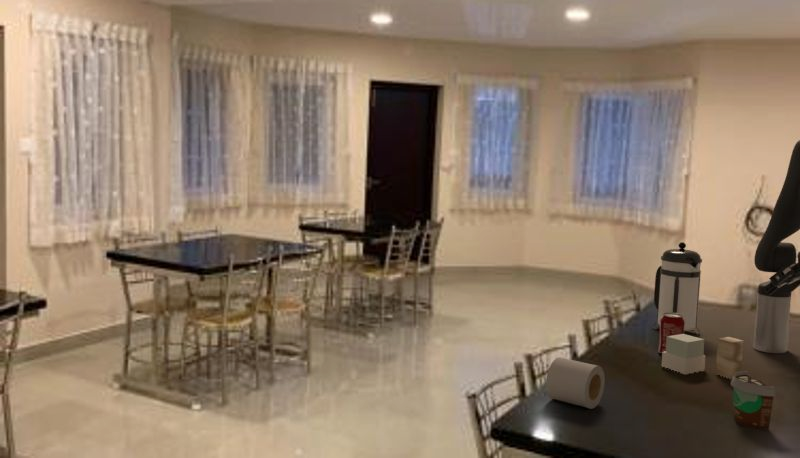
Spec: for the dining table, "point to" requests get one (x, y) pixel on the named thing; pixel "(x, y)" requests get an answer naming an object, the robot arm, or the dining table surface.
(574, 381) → the toilet paper
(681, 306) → the coffee press
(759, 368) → the dining table surface
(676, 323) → the soda can
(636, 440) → the dining table surface
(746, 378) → the food container
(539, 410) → the dining table surface
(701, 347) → the tower top
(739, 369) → the beech pillar
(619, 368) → the dining table surface
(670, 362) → the tower base
